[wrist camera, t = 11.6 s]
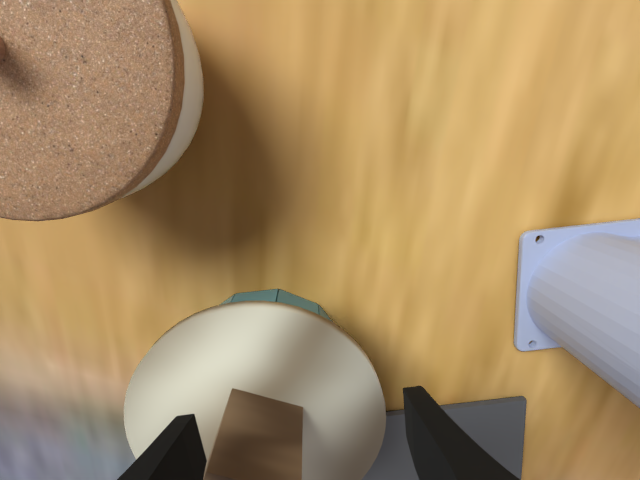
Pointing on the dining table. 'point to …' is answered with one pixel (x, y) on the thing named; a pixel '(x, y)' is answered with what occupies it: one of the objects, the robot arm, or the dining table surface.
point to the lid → (262, 394)
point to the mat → (475, 420)
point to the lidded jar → (92, 101)
